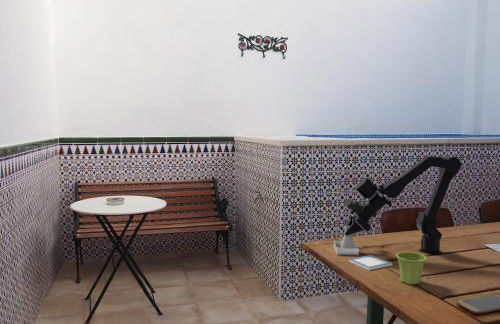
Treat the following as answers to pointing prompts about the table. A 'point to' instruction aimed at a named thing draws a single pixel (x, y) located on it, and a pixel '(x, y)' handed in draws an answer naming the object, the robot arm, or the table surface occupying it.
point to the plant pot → (410, 267)
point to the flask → (347, 240)
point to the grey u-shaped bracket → (345, 249)
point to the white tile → (370, 262)
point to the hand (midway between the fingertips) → (344, 233)
